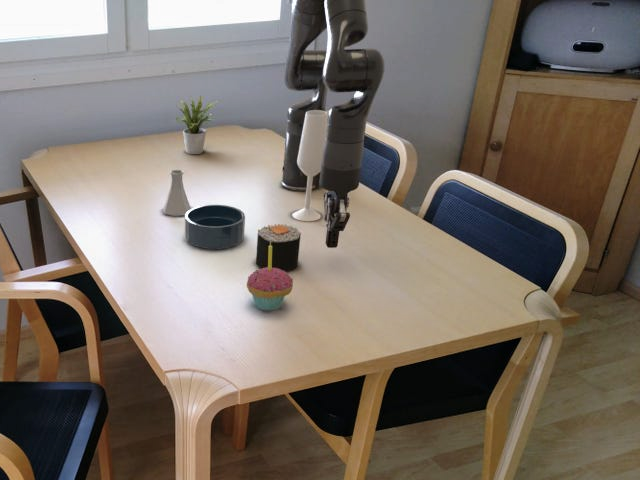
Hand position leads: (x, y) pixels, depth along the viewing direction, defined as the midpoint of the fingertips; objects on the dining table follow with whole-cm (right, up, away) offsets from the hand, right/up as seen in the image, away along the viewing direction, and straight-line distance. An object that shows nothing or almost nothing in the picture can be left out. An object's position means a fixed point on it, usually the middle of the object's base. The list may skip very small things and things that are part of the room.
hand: (331, 246), depth 139 cm
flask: (-31, +13, +28) cm, 44 cm away
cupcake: (-15, -13, -12) cm, 23 cm away
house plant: (-24, +40, +67) cm, 82 cm away
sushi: (-11, -4, +3) cm, 12 cm away
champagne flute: (0, +11, +24) cm, 26 cm away
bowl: (-23, +4, +14) cm, 27 cm away
